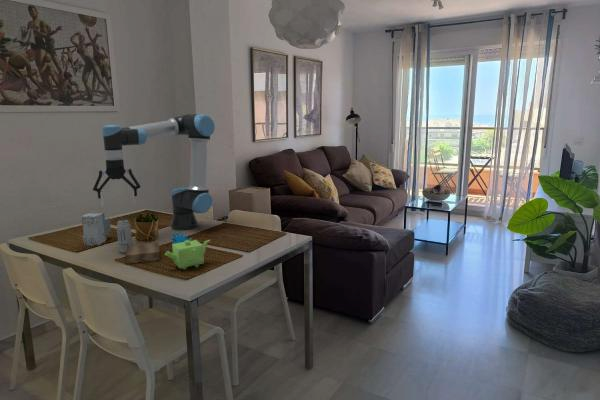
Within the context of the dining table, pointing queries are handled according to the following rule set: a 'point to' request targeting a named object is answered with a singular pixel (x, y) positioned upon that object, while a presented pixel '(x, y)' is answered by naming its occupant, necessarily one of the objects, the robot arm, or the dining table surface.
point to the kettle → (188, 253)
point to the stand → (142, 253)
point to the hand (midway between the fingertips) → (118, 204)
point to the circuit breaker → (95, 228)
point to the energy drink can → (124, 235)
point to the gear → (179, 238)
